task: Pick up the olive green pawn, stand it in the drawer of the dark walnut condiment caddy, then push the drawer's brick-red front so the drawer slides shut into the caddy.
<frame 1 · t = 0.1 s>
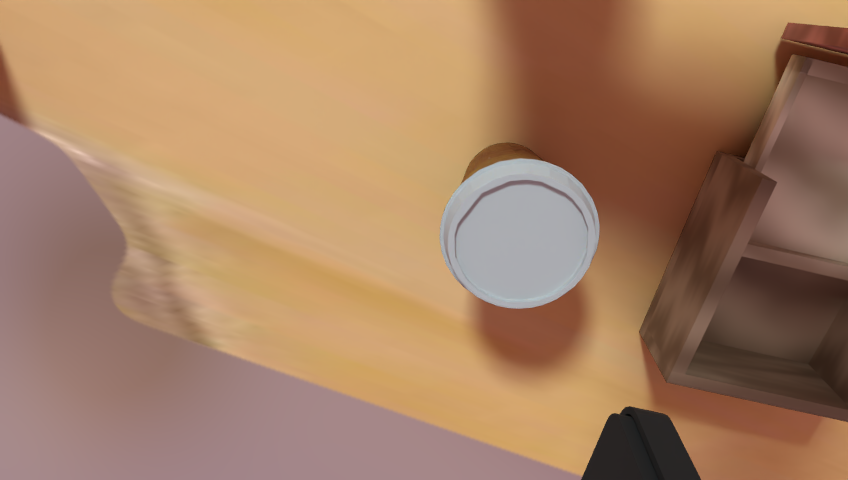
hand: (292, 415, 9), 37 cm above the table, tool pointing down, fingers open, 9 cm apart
caddy: (765, 268, 47), on the table
disposable coffee cup: (504, 182, 46), on the table
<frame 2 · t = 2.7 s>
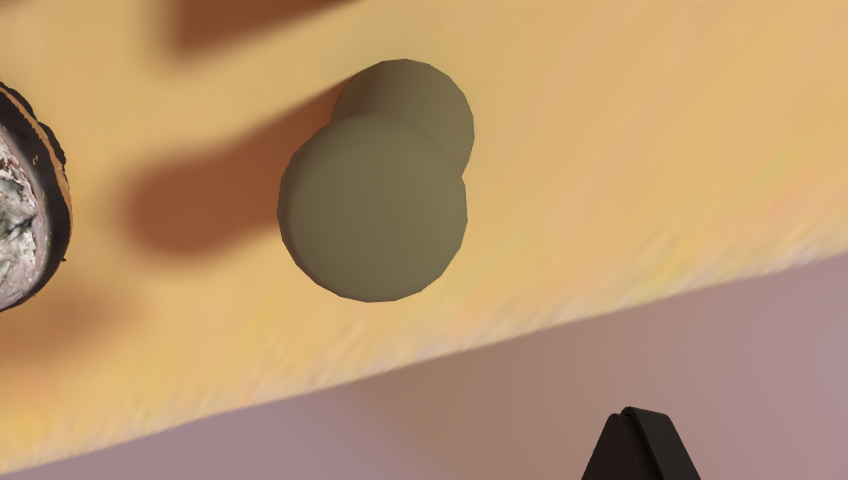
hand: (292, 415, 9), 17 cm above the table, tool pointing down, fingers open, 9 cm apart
olive green pawn: (403, 132, 25), on the table
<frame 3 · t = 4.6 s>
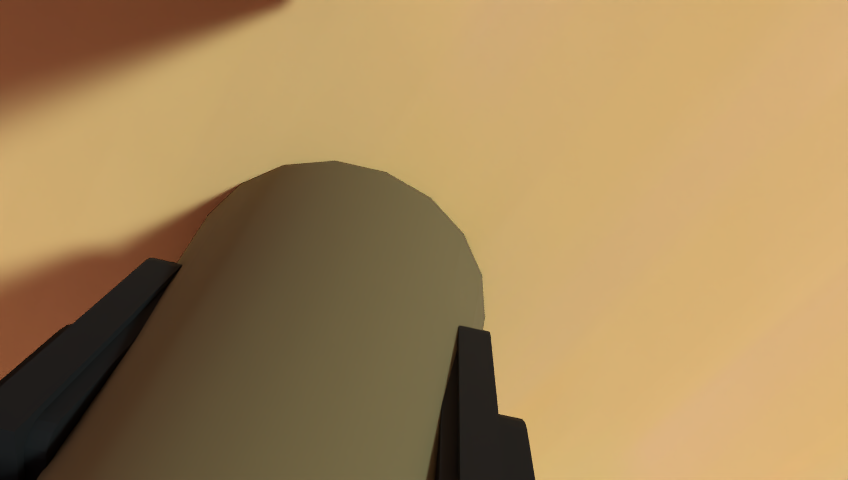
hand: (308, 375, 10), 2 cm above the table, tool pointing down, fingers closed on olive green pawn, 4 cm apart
olive green pawn: (336, 301, 12), on the table, touching gripper
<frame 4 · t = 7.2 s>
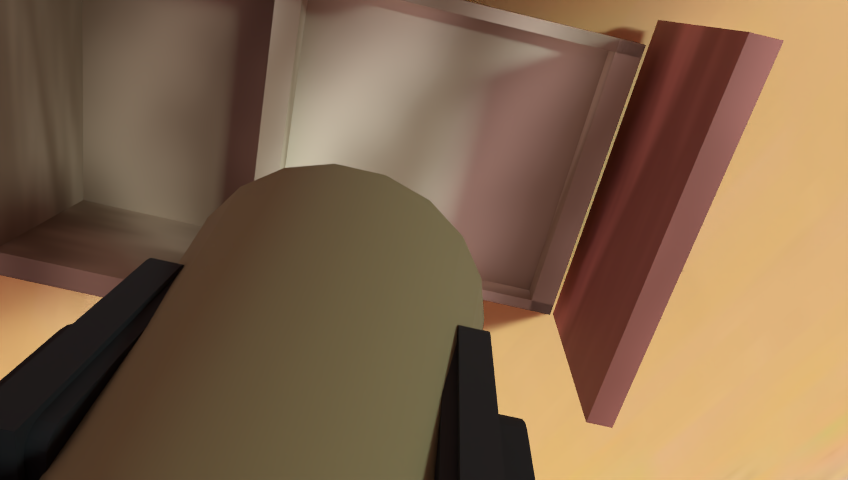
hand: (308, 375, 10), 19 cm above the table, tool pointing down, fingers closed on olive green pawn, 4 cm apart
caddy: (249, 95, 27), on the table
drawer: (451, 172, 23), point 5 cm above the table, slide at 8.0 cm
olive green pawn: (336, 303, 12), point 16 cm above the table, touching gripper
when the fingers open (6 cm above the table, at t = 8.9 s): olive green pawn drops 1 cm, resting on drawer.
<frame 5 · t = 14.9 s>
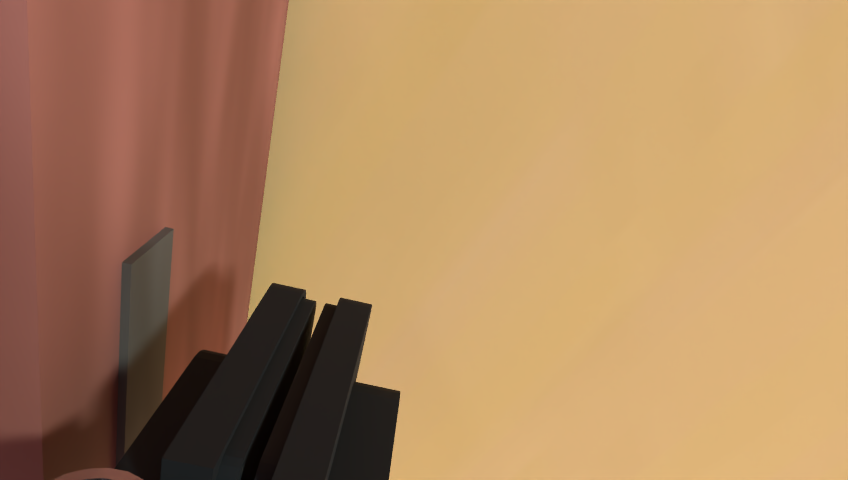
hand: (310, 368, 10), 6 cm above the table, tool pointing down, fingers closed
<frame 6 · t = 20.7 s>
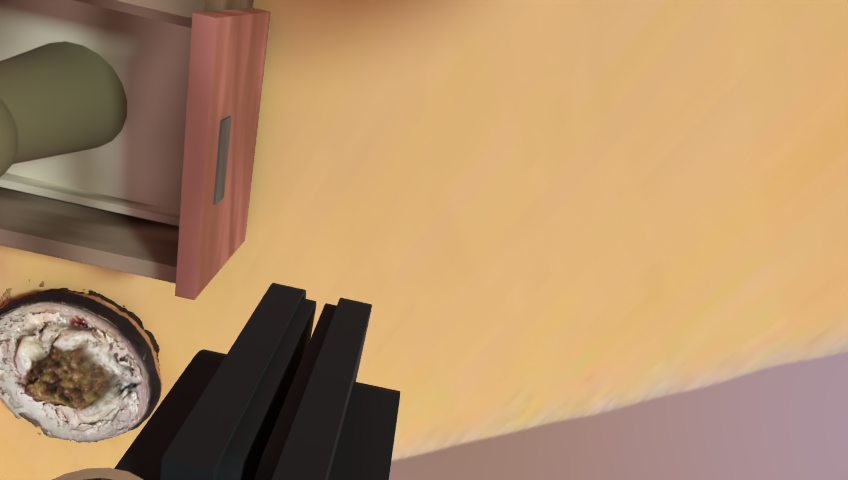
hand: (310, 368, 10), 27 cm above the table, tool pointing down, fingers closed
caddy: (110, 96, 36), on the table
sushi roll: (85, 353, 44), on the table
drawer: (86, 118, 31), point 5 cm above the table, slide at 0.0 cm, touching olive green pawn
olive green pawn: (77, 96, 34), point 2 cm above the table, touching drawer
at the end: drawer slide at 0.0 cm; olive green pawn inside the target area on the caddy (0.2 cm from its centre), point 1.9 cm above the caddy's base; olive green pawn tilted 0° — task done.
